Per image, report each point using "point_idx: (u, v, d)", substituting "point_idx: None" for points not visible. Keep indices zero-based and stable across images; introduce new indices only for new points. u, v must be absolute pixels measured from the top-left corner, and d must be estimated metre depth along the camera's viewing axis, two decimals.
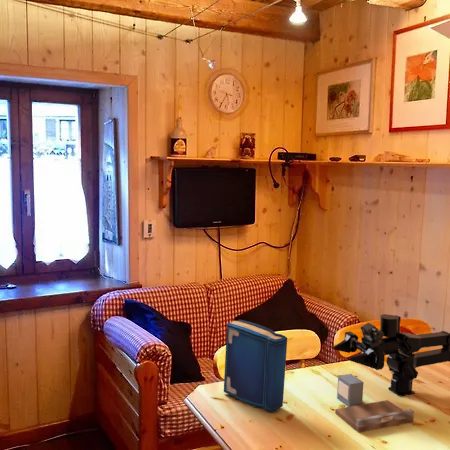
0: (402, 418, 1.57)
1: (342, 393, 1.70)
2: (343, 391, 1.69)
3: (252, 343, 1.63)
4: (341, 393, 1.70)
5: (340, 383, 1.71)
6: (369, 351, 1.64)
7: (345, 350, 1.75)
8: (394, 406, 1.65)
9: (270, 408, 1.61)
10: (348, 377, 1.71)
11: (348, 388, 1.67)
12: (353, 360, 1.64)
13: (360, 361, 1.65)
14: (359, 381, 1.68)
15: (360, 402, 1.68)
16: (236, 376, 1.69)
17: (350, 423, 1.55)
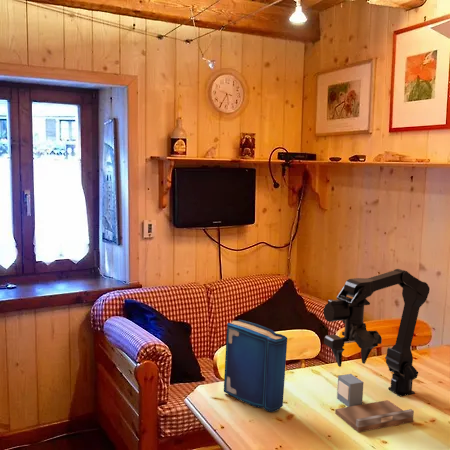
0: (402, 418, 1.57)
1: (342, 393, 1.70)
2: (343, 391, 1.69)
3: (252, 343, 1.63)
4: (341, 393, 1.70)
5: (340, 383, 1.71)
6: (373, 347, 1.69)
7: None
8: (394, 406, 1.65)
9: (270, 408, 1.61)
10: (348, 377, 1.71)
11: (348, 388, 1.67)
12: None
13: None
14: (359, 381, 1.68)
15: (360, 402, 1.68)
16: (236, 376, 1.69)
17: (350, 423, 1.55)
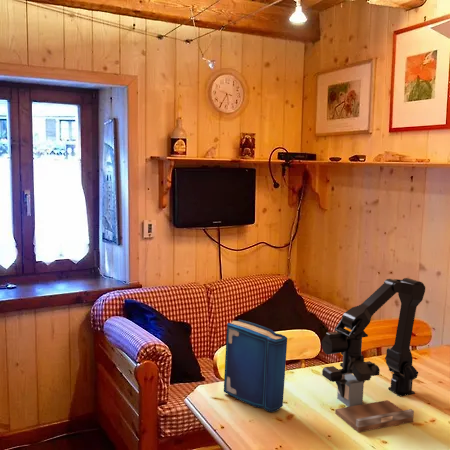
0: (402, 418, 1.57)
1: None
2: None
3: (252, 343, 1.63)
4: None
5: None
6: None
7: None
8: (394, 406, 1.65)
9: (270, 408, 1.61)
10: (349, 376, 1.71)
11: (348, 388, 1.67)
12: None
13: None
14: (359, 381, 1.68)
15: (360, 402, 1.68)
16: (236, 376, 1.69)
17: (350, 423, 1.55)
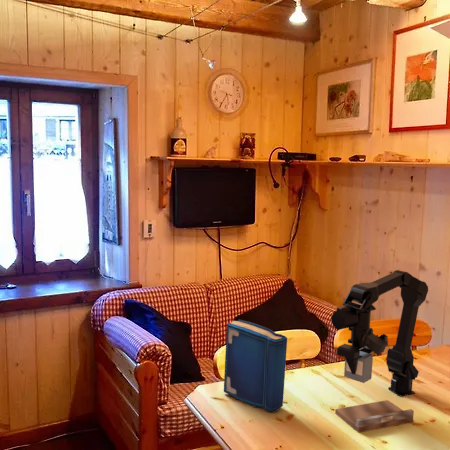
0: (402, 418, 1.57)
1: None
2: None
3: (252, 343, 1.63)
4: None
5: None
6: (372, 351, 1.68)
7: None
8: (394, 406, 1.65)
9: (270, 408, 1.61)
10: None
11: (362, 363, 1.62)
12: None
13: None
14: (369, 354, 1.65)
15: (370, 375, 1.66)
16: (236, 376, 1.69)
17: (350, 423, 1.55)
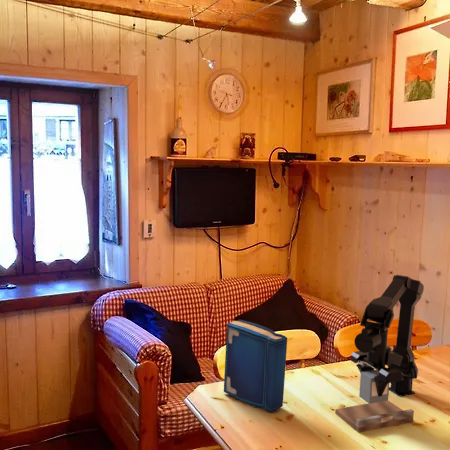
0: (402, 418, 1.57)
1: None
2: None
3: (252, 343, 1.63)
4: None
5: (375, 384, 1.57)
6: None
7: None
8: (394, 406, 1.65)
9: (270, 408, 1.61)
10: (370, 374, 1.59)
11: None
12: None
13: None
14: None
15: None
16: (236, 376, 1.69)
17: (350, 423, 1.55)
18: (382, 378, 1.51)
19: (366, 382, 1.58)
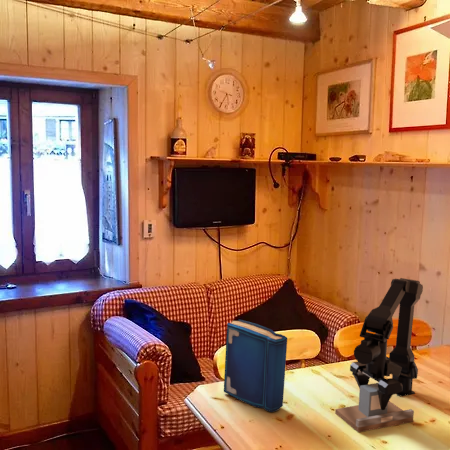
0: (402, 418, 1.57)
1: (378, 406, 1.58)
2: (379, 403, 1.58)
3: (252, 343, 1.63)
4: (376, 407, 1.58)
5: (374, 397, 1.57)
6: None
7: None
8: (394, 406, 1.65)
9: (270, 408, 1.61)
10: (370, 387, 1.60)
11: None
12: None
13: None
14: None
15: None
16: (236, 376, 1.69)
17: (350, 423, 1.55)
18: (381, 389, 1.52)
19: (365, 396, 1.58)
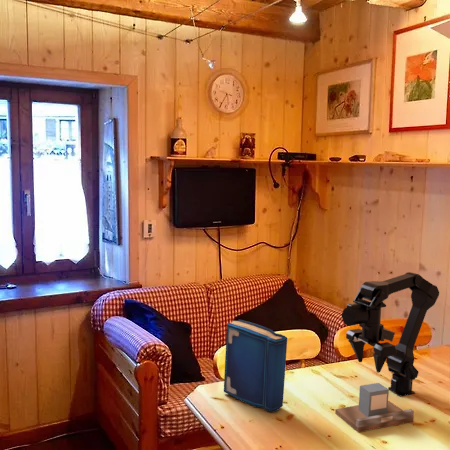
0: (402, 418, 1.57)
1: (378, 406, 1.58)
2: (379, 403, 1.58)
3: (252, 343, 1.63)
4: (376, 407, 1.58)
5: (374, 397, 1.57)
6: None
7: None
8: (394, 406, 1.65)
9: (270, 408, 1.61)
10: (370, 387, 1.60)
11: (386, 395, 1.59)
12: None
13: None
14: (378, 384, 1.62)
15: None
16: (236, 376, 1.69)
17: (350, 423, 1.55)
18: (377, 352, 1.62)
19: (365, 396, 1.58)
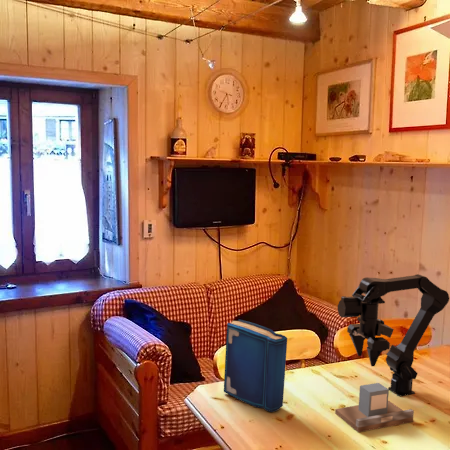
0: (402, 418, 1.57)
1: (378, 406, 1.58)
2: (379, 403, 1.58)
3: (252, 343, 1.63)
4: (376, 407, 1.58)
5: (374, 397, 1.57)
6: None
7: None
8: (394, 406, 1.65)
9: (270, 408, 1.61)
10: (370, 387, 1.60)
11: (386, 395, 1.59)
12: None
13: None
14: (378, 384, 1.62)
15: None
16: (236, 376, 1.69)
17: (350, 423, 1.55)
18: (369, 346, 1.66)
19: (365, 396, 1.58)
